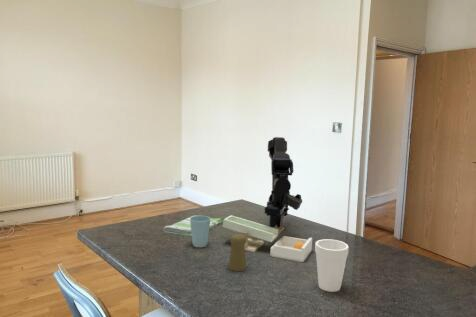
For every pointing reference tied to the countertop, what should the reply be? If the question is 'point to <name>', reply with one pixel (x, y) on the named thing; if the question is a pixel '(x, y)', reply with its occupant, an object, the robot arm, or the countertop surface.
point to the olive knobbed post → (237, 253)
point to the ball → (298, 245)
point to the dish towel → (189, 226)
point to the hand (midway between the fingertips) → (278, 226)
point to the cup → (200, 230)
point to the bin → (291, 249)
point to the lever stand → (252, 243)
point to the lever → (252, 228)
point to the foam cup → (330, 263)
